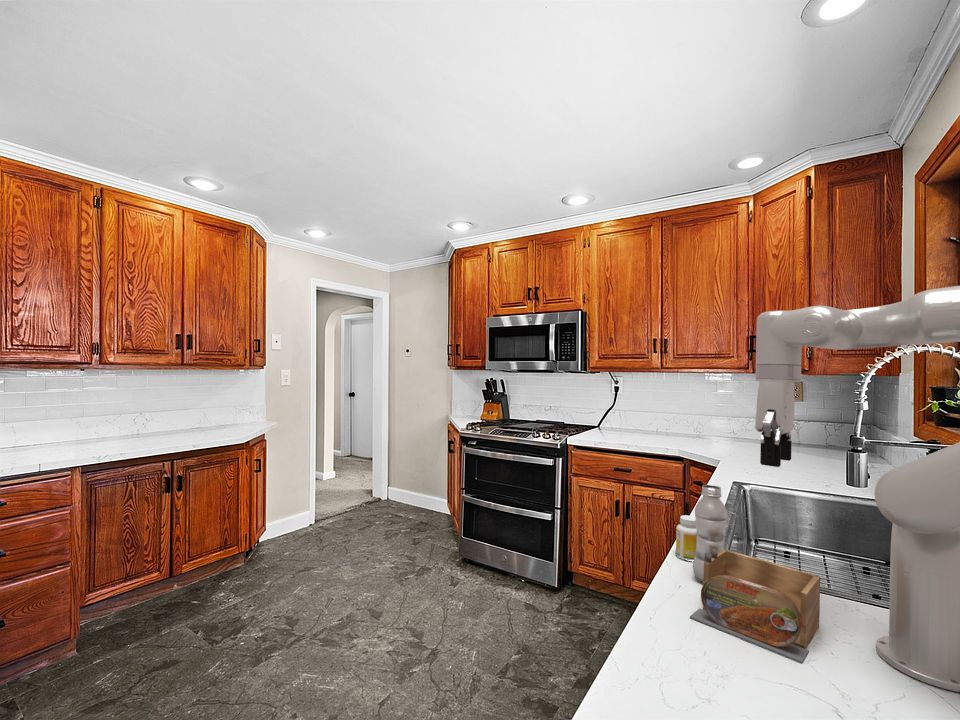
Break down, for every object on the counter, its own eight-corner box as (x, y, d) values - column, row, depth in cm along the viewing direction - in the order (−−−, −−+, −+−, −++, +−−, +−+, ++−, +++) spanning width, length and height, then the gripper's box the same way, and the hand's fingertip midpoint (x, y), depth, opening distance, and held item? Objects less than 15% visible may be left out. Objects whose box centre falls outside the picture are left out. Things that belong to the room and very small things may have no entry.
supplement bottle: (671, 555, 112) (672, 515, 112) (684, 551, 115) (685, 512, 115) (691, 564, 108) (692, 522, 108) (705, 559, 111) (706, 519, 111)
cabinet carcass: (819, 627, 82) (820, 568, 82) (805, 650, 75) (806, 585, 75) (721, 593, 94) (722, 541, 94) (701, 610, 87) (703, 554, 87)
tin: (699, 617, 84) (700, 570, 84) (706, 611, 86) (707, 565, 86) (798, 657, 73) (800, 603, 73) (803, 649, 75) (805, 596, 75)
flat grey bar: (808, 652, 75) (808, 650, 75) (802, 663, 72) (802, 661, 72) (699, 609, 87) (699, 608, 87) (689, 618, 84) (689, 616, 84)
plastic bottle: (687, 580, 99) (689, 486, 100) (700, 571, 104) (702, 481, 104) (718, 591, 95) (721, 492, 95) (731, 581, 99) (733, 487, 99)
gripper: (766, 374, 100) (764, 454, 99) (744, 373, 87) (742, 465, 87) (808, 375, 95) (807, 460, 94) (791, 374, 82) (790, 472, 82)
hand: (776, 462), depth 91 cm, fingers open, 9 cm apart
